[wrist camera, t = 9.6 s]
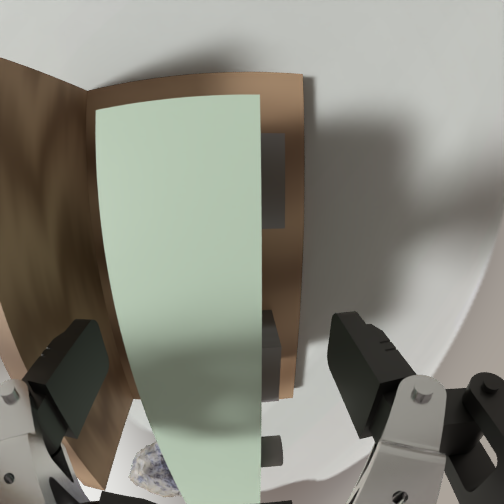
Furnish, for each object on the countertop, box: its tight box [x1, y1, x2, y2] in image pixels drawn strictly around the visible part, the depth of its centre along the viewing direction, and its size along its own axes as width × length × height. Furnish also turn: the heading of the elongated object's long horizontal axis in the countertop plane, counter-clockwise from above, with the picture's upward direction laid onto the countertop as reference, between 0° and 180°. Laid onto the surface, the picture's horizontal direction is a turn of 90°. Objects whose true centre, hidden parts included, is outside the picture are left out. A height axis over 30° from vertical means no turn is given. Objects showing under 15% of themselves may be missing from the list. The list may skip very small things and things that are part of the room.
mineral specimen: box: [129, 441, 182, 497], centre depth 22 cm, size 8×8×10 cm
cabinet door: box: [96, 95, 283, 504], centre depth 12 cm, size 14×4×11 cm, turn 1°
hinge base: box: [0, 58, 304, 490], centre depth 13 cm, size 22×14×10 cm, turn 1°
